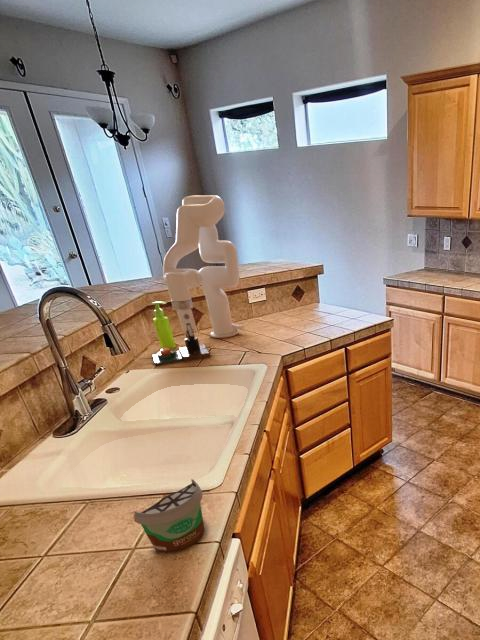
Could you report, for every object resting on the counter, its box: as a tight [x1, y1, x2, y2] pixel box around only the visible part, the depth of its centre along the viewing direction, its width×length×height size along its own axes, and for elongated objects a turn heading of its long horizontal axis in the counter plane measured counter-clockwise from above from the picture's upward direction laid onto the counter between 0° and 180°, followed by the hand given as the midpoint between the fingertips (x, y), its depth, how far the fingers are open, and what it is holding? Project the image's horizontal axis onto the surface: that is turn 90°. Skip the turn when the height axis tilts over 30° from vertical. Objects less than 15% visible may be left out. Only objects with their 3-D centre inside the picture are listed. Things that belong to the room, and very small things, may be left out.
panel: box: [178, 344, 211, 362], centre depth 181 cm, size 10×14×2 cm
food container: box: [133, 478, 205, 554], centre depth 80 cm, size 12×6×10 cm, turn 148°
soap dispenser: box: [151, 301, 177, 350], centre depth 187 cm, size 6×7×20 cm
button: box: [159, 348, 171, 354], centre depth 176 cm, size 4×4×2 cm
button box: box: [152, 349, 184, 367], centre depth 176 cm, size 10×12×3 cm
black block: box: [184, 336, 200, 352], centre depth 180 cm, size 5×2×5 cm, turn 121°
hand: (193, 347), depth 180 cm, fingers open, 3 cm apart
